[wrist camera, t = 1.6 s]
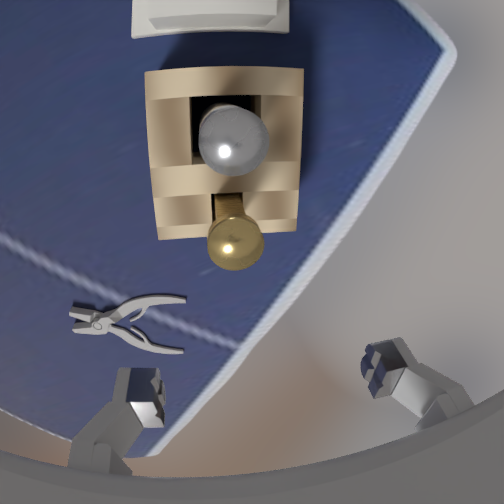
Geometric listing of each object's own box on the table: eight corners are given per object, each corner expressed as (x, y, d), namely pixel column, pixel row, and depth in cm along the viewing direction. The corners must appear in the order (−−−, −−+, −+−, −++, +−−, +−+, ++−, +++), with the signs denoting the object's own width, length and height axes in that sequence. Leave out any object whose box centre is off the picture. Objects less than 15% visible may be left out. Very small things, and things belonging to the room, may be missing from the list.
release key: (206, 221, 28) (209, 272, 20) (204, 182, 26) (206, 221, 19) (246, 219, 28) (263, 268, 21) (246, 180, 26) (264, 218, 19)
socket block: (164, 215, 31) (158, 239, 26) (155, 75, 24) (144, 72, 19) (281, 208, 32) (295, 230, 28) (285, 72, 25) (303, 69, 21)
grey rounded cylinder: (200, 144, 28) (200, 177, 18) (199, 102, 26) (197, 109, 16) (242, 142, 28) (268, 175, 18) (242, 101, 26) (269, 108, 16)
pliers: (182, 359, 40) (77, 349, 36) (183, 351, 41) (80, 341, 38) (185, 302, 35) (63, 291, 32) (185, 294, 36) (67, 284, 33)
